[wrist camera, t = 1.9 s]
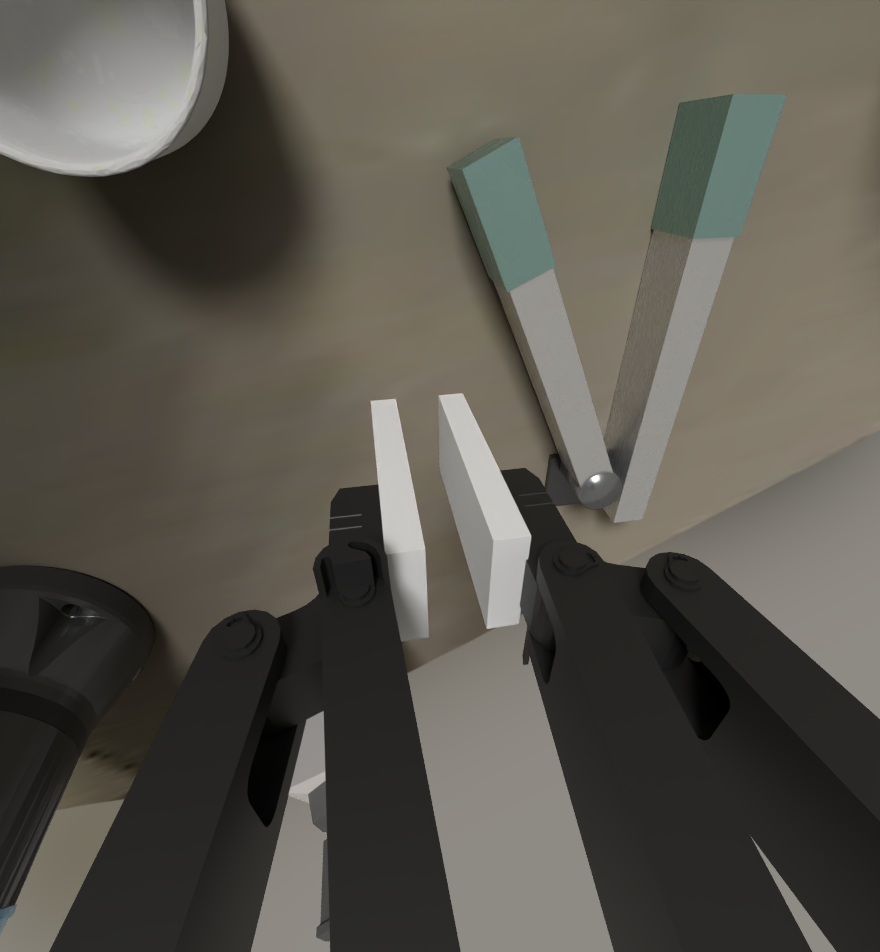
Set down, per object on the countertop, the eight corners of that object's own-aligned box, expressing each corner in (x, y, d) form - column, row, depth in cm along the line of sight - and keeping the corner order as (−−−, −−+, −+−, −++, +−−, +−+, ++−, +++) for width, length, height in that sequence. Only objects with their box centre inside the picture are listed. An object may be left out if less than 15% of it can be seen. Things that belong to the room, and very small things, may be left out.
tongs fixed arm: (542, 503, 39) (560, 535, 36) (603, 102, 24) (646, 93, 20) (622, 494, 40) (647, 524, 37) (732, 102, 25) (793, 94, 21)
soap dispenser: (413, 611, 45) (456, 908, 27) (341, 649, 47) (337, 953, 29) (375, 576, 41) (396, 893, 24) (298, 619, 43) (263, 946, 25)
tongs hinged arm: (565, 484, 38) (586, 515, 34) (443, 169, 24) (458, 171, 20) (601, 467, 37) (626, 497, 34) (498, 136, 23) (523, 133, 20)
